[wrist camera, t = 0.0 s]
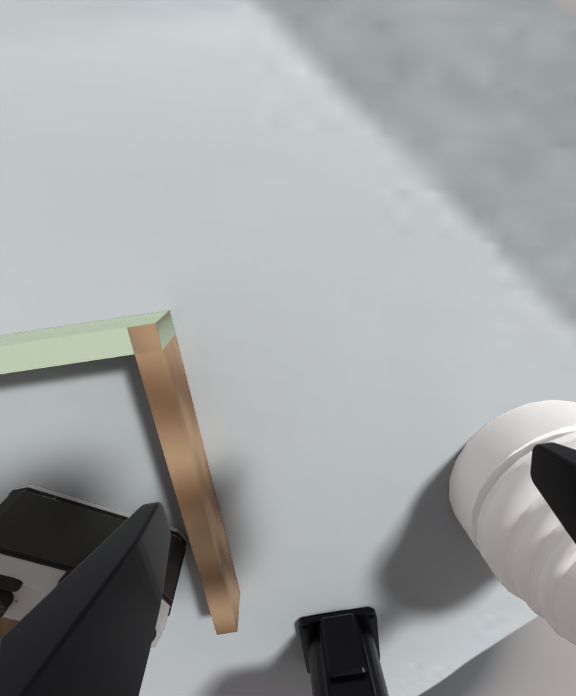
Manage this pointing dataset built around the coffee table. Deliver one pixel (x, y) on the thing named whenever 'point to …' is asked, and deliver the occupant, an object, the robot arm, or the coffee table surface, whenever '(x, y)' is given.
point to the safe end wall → (76, 342)
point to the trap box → (185, 473)
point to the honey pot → (519, 509)
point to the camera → (61, 547)
